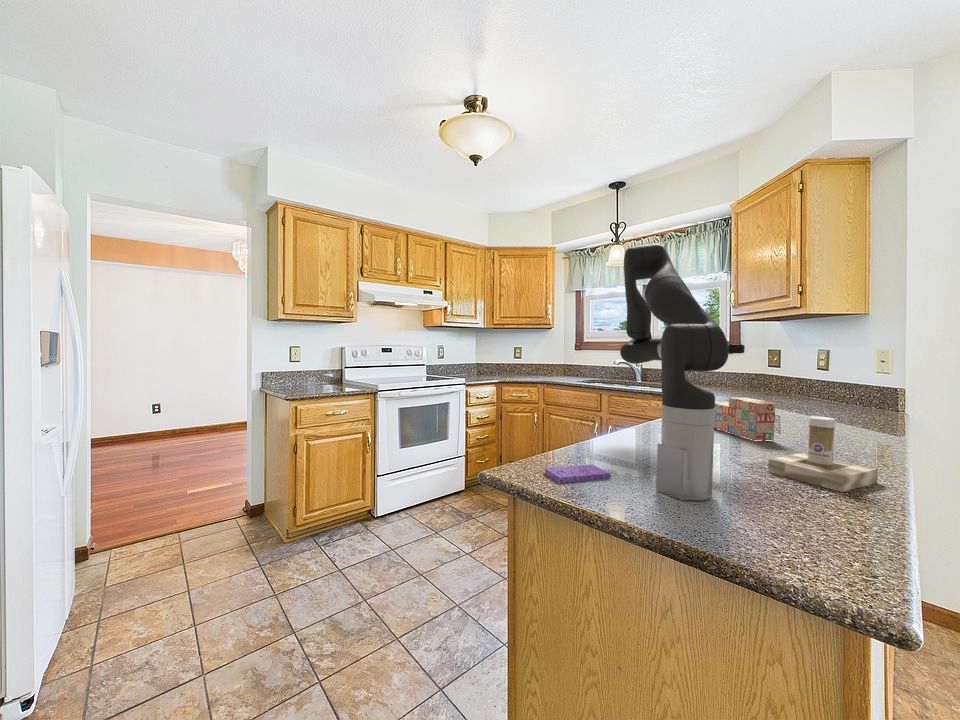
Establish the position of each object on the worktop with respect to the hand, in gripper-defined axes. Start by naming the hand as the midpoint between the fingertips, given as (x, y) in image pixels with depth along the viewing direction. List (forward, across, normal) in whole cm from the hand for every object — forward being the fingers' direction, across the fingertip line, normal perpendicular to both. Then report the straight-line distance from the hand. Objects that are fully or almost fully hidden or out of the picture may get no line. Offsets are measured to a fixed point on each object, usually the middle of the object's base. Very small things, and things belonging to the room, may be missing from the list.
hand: (732, 348), depth 102 cm
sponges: (-4, -44, +30) cm, 53 cm away
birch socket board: (+16, +7, +29) cm, 34 cm away
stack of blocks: (-20, +34, +28) cm, 48 cm away
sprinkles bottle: (+16, +7, +29) cm, 34 cm away
